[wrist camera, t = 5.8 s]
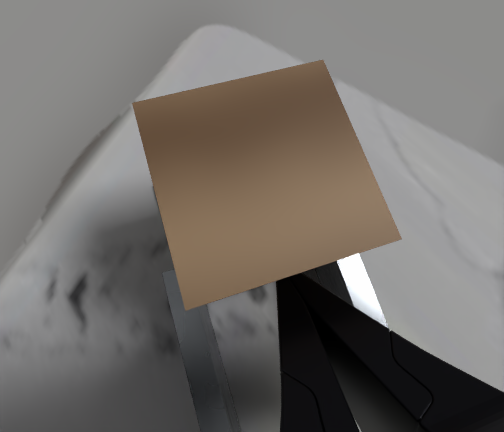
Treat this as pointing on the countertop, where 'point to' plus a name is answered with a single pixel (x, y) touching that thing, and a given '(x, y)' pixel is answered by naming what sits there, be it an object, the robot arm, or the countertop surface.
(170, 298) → the chute
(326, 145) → the brown rectangular block
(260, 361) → the countertop surface
